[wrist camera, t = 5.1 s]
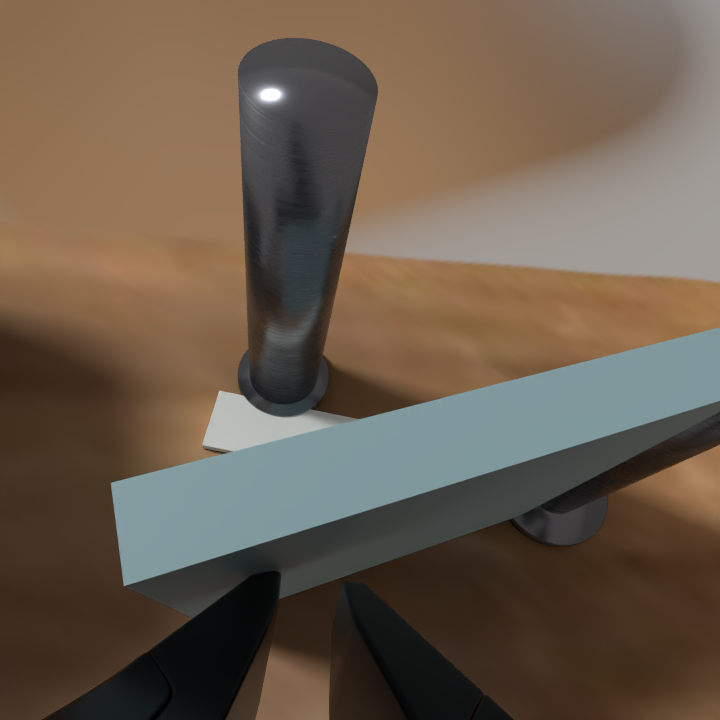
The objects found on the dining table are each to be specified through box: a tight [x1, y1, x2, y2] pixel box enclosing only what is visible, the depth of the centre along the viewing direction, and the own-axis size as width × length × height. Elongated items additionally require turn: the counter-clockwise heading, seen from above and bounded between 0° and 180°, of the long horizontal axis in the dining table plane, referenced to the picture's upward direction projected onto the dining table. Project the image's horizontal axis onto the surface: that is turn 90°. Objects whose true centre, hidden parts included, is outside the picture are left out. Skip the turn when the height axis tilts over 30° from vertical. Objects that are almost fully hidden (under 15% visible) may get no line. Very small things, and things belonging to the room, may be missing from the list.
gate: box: [111, 327, 720, 618], centre depth 12 cm, size 10×1×10 cm, turn 109°
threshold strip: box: [202, 391, 359, 453], centre depth 18 cm, size 10×2×1 cm, turn 82°
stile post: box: [238, 38, 378, 417], centre depth 14 cm, size 3×3×12 cm
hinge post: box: [509, 412, 720, 547], centre depth 14 cm, size 4×4×12 cm
